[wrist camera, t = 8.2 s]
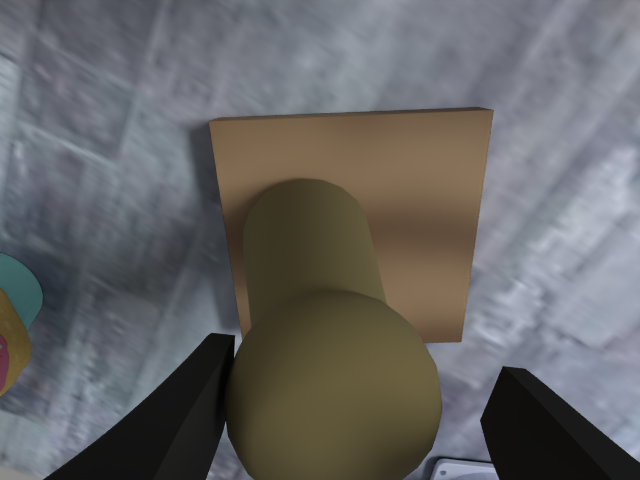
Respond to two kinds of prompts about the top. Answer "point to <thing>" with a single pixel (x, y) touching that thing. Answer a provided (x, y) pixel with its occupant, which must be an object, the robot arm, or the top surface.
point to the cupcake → (16, 317)
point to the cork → (325, 349)
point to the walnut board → (373, 195)
